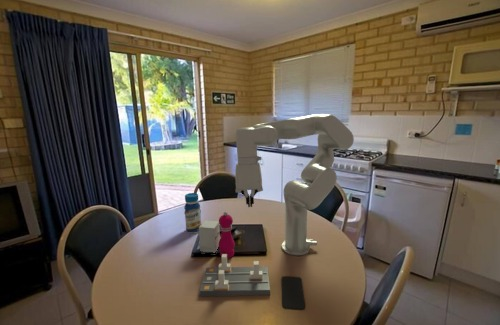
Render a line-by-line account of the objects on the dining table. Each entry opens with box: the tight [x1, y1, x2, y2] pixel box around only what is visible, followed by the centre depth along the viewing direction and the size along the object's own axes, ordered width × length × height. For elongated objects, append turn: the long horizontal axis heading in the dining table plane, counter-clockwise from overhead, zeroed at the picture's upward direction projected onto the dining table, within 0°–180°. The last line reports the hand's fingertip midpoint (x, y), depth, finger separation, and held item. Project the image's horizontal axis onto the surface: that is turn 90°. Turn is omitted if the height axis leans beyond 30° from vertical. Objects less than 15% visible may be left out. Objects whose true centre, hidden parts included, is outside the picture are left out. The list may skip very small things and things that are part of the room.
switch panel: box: [199, 266, 271, 297], centre depth 88 cm, size 24×13×2 cm, turn 90°
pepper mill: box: [218, 211, 236, 259], centre depth 104 cm, size 7×7×20 cm
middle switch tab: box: [250, 260, 263, 279], centre depth 87 cm, size 4×2×6 cm, turn 90°
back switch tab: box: [218, 254, 232, 271], centre depth 92 cm, size 4×2×6 cm, turn 90°
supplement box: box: [198, 220, 221, 253], centre depth 109 cm, size 7×7×13 cm
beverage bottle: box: [183, 192, 202, 234], centre depth 127 cm, size 8×8×20 cm
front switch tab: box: [215, 270, 229, 289], centre depth 82 cm, size 4×2×6 cm, turn 90°
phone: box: [281, 275, 306, 311], centre depth 83 cm, size 7×1×15 cm
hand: (250, 205), depth 95 cm, fingers closed
